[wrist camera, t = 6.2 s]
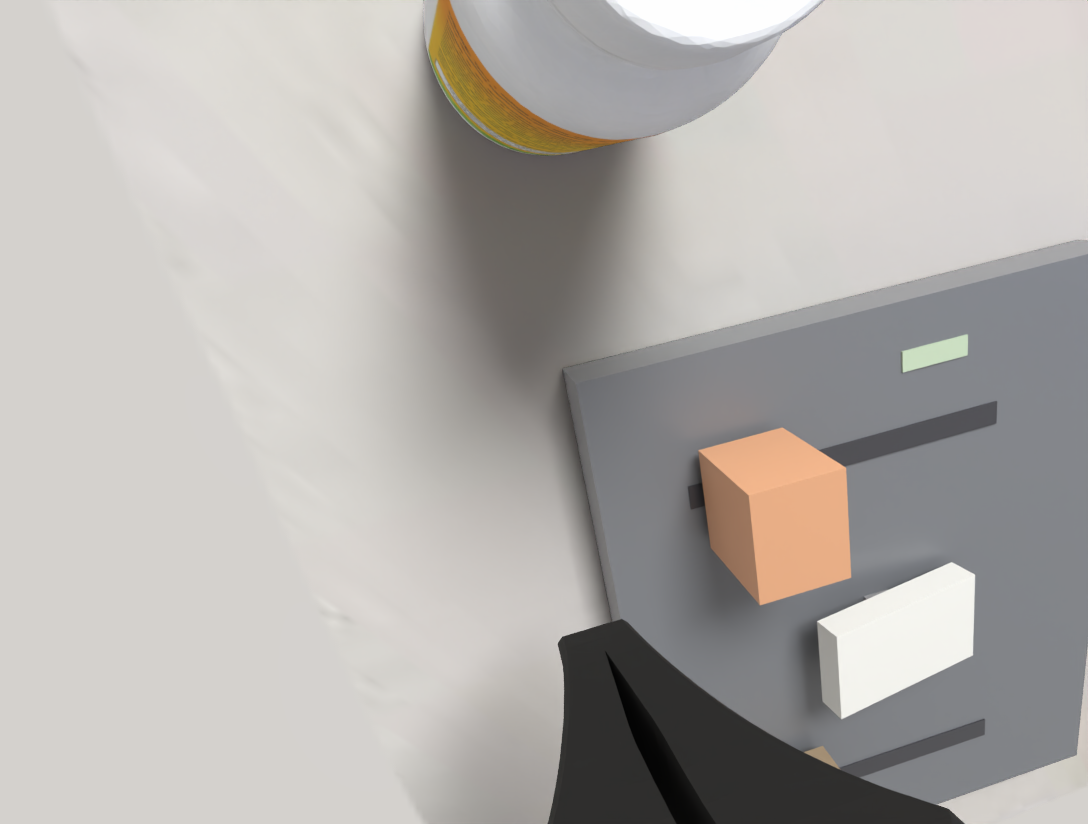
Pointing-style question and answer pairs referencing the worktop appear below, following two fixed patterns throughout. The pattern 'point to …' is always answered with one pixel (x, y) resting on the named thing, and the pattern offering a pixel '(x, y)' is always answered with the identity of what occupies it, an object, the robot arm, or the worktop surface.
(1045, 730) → the switch panel
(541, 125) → the supplement bottle
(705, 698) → the robot arm
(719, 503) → the peach slider
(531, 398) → the worktop surface
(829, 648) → the off-white rocker
